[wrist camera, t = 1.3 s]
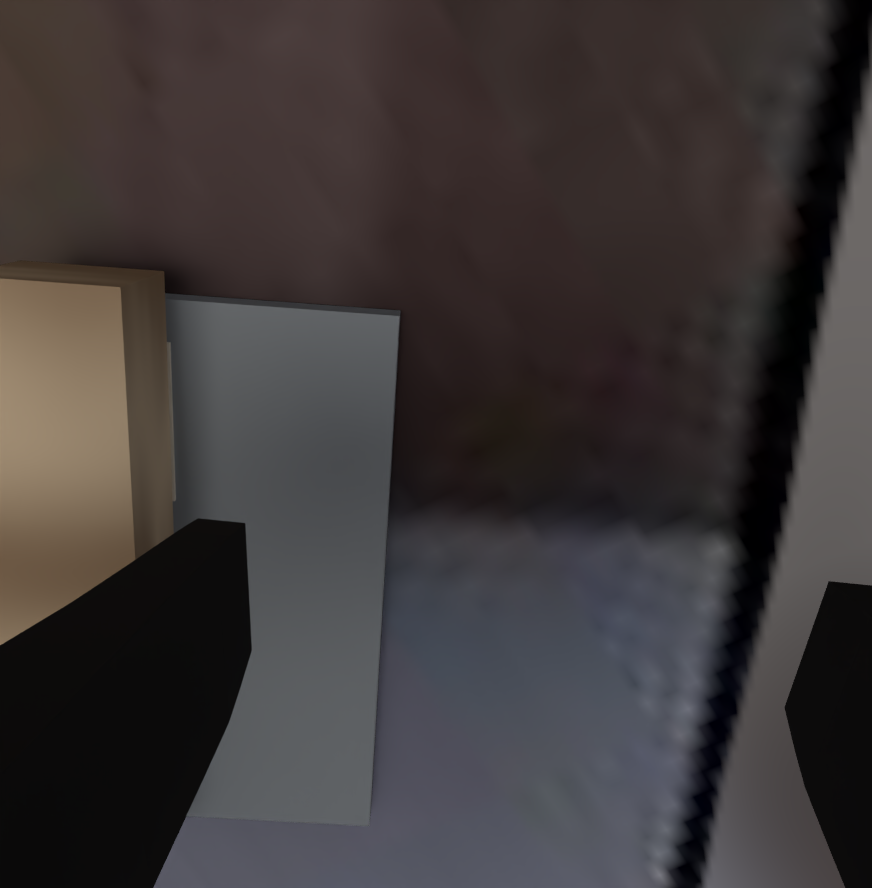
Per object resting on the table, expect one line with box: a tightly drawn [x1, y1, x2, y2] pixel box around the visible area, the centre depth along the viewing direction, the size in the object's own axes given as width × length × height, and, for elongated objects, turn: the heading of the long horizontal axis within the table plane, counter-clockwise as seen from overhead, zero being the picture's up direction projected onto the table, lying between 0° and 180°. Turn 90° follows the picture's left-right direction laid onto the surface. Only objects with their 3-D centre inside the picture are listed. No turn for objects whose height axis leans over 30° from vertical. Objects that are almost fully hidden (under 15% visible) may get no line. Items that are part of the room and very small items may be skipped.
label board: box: [165, 293, 401, 826], centre depth 21 cm, size 15×13×1 cm
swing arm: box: [0, 261, 174, 645], centre depth 18 cm, size 16×3×3 cm, turn 176°
